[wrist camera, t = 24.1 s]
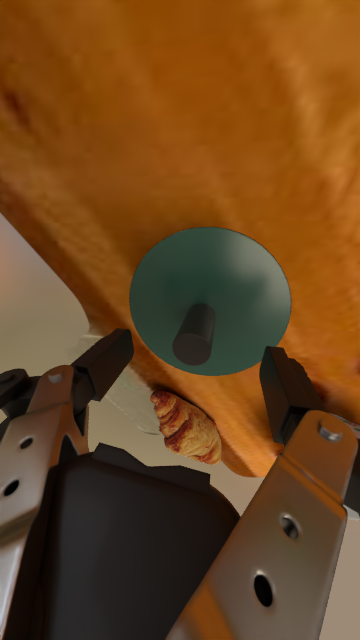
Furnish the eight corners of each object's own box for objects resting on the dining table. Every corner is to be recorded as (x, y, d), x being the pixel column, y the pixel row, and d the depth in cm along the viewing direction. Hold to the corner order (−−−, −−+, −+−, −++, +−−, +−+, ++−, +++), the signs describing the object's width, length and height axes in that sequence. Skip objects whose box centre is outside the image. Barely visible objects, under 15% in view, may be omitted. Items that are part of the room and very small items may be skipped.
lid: (187, 183, 12) (155, 142, 6) (328, 303, 13) (399, 351, 8) (114, 316, 18) (69, 350, 13) (212, 387, 19) (206, 444, 14)
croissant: (230, 431, 38) (250, 469, 30) (195, 460, 38) (206, 504, 30) (171, 366, 33) (178, 391, 25) (131, 399, 33) (124, 434, 25)
